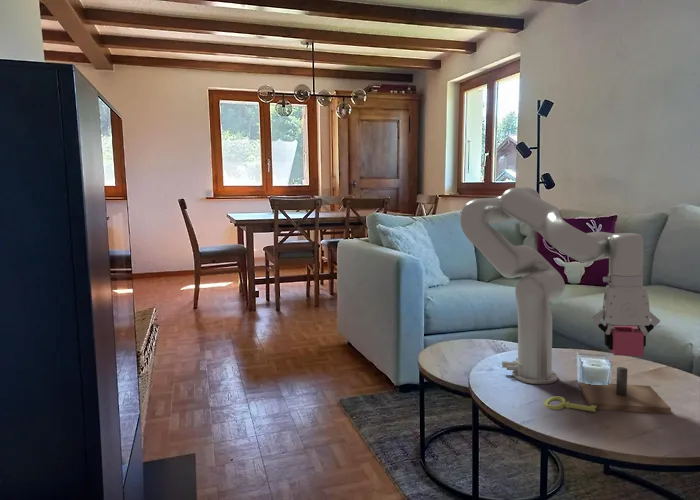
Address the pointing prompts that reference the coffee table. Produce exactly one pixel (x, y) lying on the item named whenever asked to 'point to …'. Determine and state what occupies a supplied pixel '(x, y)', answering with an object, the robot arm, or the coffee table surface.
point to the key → (567, 405)
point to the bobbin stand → (624, 396)
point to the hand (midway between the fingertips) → (624, 348)
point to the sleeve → (627, 341)
